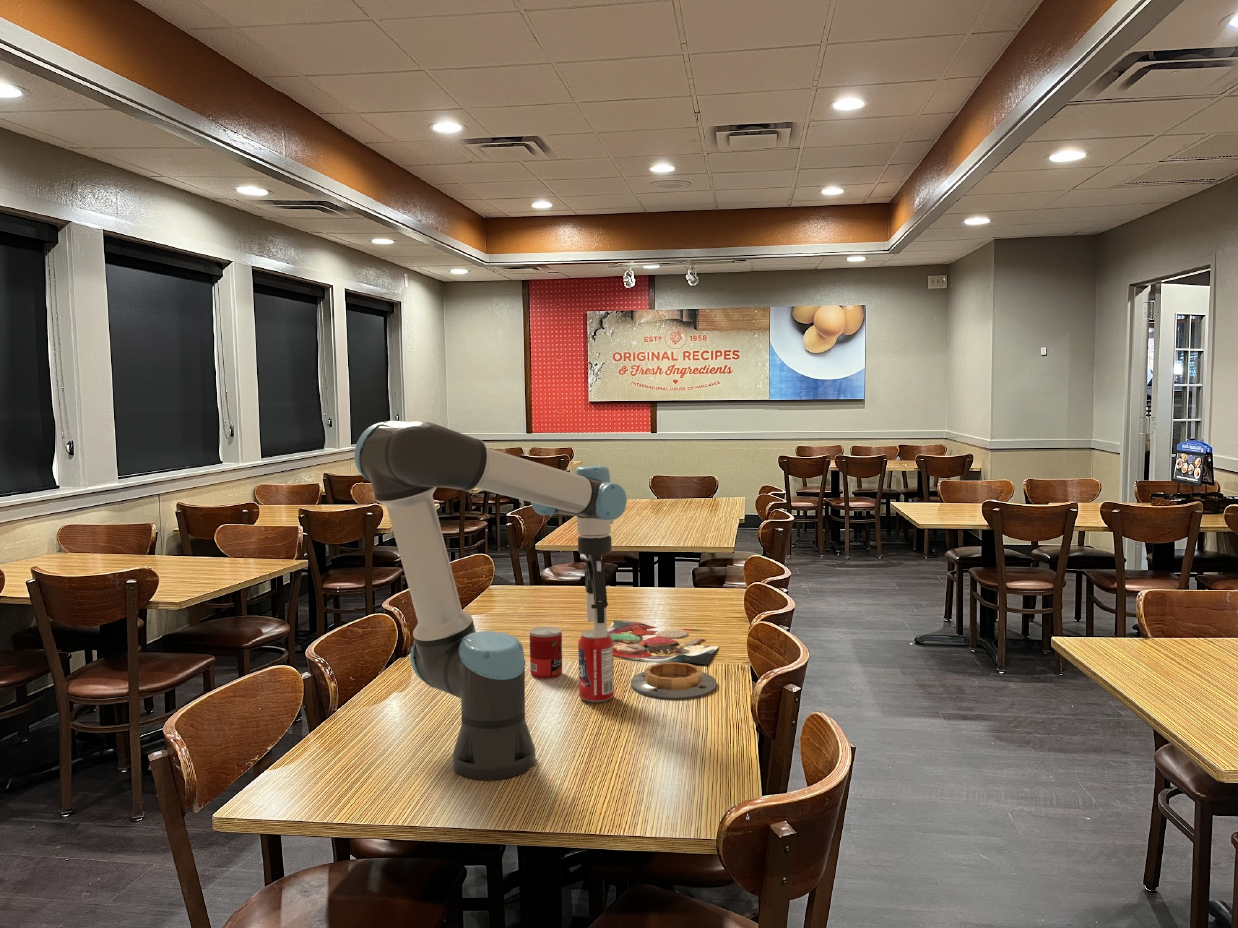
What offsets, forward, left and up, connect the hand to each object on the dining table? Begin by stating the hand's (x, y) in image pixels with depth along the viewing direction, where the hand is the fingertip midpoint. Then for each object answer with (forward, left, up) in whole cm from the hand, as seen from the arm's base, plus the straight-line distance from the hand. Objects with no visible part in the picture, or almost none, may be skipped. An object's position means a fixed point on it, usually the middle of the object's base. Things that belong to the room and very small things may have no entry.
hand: (596, 628), depth 193 cm
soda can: (0, 0, -16) cm, 16 cm away
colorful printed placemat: (+42, -22, -17) cm, 50 cm away
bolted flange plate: (+6, -19, -16) cm, 25 cm away
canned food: (+20, +10, -16) cm, 27 cm away
